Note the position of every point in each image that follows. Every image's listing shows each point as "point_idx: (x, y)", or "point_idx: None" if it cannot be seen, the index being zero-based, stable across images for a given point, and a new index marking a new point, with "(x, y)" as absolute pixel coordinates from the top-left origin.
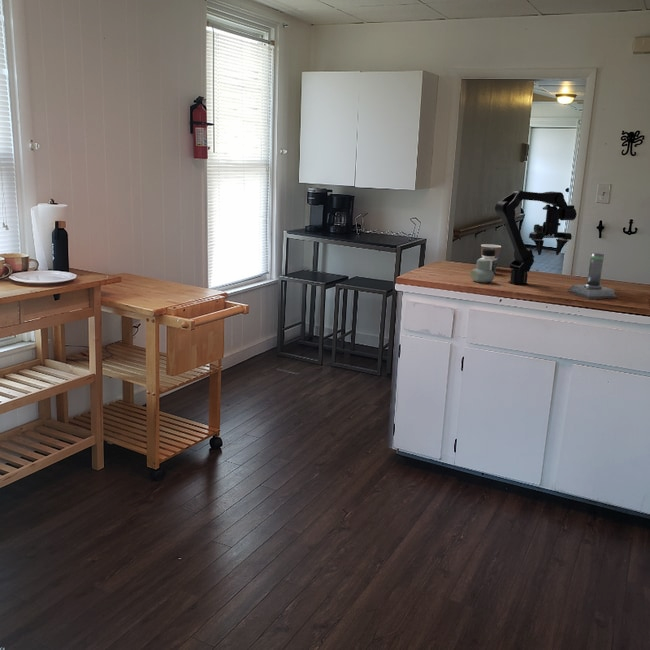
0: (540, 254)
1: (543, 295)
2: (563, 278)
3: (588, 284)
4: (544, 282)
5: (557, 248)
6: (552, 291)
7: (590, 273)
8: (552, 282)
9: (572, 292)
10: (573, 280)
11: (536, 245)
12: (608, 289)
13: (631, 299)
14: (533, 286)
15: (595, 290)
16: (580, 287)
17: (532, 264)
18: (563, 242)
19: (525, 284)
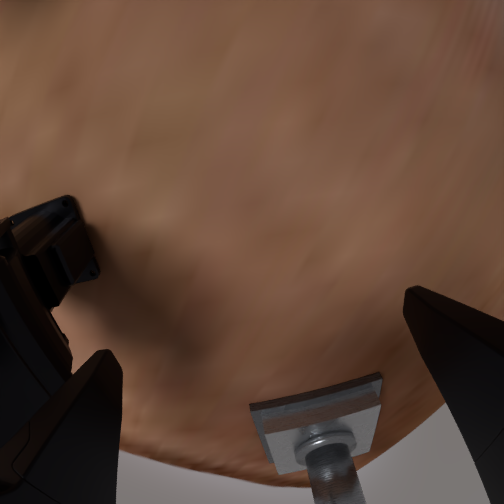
0: (121, 379)
1: (136, 438)
2: (446, 24)
3: (305, 460)
4: (248, 163)
5: (462, 357)
6: (189, 396)
7: (313, 496)
8: (311, 157)
9: (255, 424)
10: (470, 91)
11: (15, 453)
12: (351, 455)
13: (397, 428)
14: (124, 310)
15: (298, 469)
16: (272, 456)
17: (71, 355)
18: (491, 487)
19: (86, 278)
